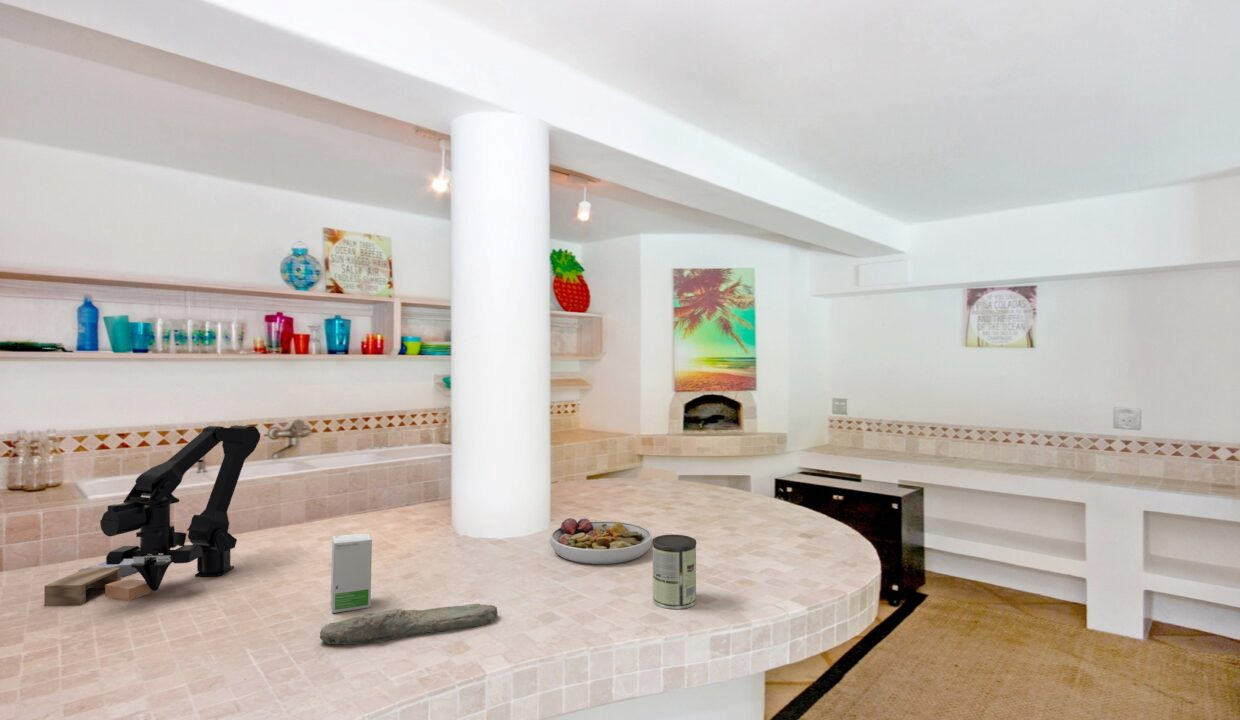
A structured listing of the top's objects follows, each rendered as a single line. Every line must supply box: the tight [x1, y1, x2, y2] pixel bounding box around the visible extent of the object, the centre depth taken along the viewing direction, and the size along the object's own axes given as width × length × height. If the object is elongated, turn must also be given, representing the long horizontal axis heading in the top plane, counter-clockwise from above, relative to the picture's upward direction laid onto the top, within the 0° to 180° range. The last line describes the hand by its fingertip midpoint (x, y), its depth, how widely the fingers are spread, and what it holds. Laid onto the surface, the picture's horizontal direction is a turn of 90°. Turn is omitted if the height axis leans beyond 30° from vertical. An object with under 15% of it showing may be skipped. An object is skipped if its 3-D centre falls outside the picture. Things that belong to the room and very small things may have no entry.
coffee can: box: [651, 534, 697, 610], centre depth 143 cm, size 10×10×14 cm
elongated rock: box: [319, 603, 499, 645], centre depth 128 cm, size 35×5×10 cm
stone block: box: [77, 559, 139, 579], centre depth 159 cm, size 12×5×10 cm
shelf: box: [43, 567, 122, 607], centre depth 146 cm, size 8×12×4 cm, turn 3°
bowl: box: [549, 517, 653, 565], centre depth 181 cm, size 30×30×8 cm
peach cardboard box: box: [104, 577, 152, 602], centre depth 146 cm, size 8×5×3 cm, turn 72°
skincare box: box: [330, 533, 373, 614], centre depth 140 cm, size 8×7×16 cm
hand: (155, 590), depth 147 cm, fingers closed
